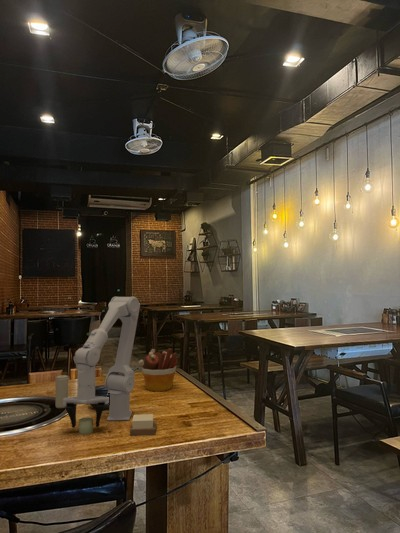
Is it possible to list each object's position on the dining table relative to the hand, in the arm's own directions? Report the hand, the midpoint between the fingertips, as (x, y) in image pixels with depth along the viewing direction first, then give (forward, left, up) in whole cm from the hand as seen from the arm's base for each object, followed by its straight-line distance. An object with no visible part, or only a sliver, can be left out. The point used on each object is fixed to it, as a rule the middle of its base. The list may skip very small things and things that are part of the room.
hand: (85, 426), depth 130 cm
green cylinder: (0, 0, -2) cm, 2 cm away
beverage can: (-29, -16, -2) cm, 33 cm away
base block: (+1, +19, -2) cm, 19 cm away
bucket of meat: (-54, +22, -2) cm, 58 cm away
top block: (+1, +19, 0) cm, 19 cm away
